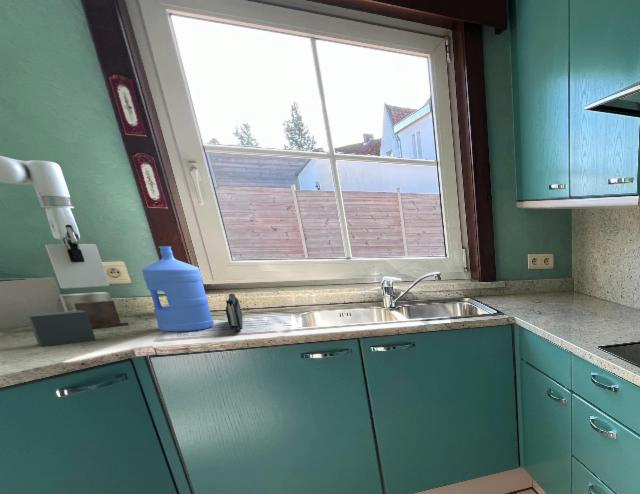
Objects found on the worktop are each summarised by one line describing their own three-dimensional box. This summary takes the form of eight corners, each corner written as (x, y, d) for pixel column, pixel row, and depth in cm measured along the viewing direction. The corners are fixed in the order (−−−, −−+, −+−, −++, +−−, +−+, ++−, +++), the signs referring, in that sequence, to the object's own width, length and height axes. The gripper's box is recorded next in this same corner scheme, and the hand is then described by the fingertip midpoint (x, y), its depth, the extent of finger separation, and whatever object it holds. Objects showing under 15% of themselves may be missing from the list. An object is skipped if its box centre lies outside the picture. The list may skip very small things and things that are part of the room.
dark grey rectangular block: (42, 346, 148) (30, 316, 144) (38, 344, 150) (26, 314, 146) (96, 340, 157) (86, 311, 154) (91, 338, 159) (81, 310, 156)
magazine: (227, 296, 191) (218, 280, 166) (237, 295, 193) (230, 280, 168) (237, 340, 194) (230, 331, 168) (247, 339, 195) (241, 330, 170)
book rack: (75, 330, 168) (63, 298, 164) (65, 326, 174) (54, 294, 170) (128, 325, 179) (118, 294, 175) (117, 321, 185) (107, 291, 181)
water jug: (215, 322, 188) (195, 245, 177) (213, 330, 176) (191, 247, 165) (162, 325, 180) (138, 245, 169) (156, 333, 167) (129, 247, 157)
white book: (62, 288, 165) (46, 244, 160) (60, 288, 166) (44, 244, 161) (109, 285, 174) (96, 244, 169) (107, 285, 175) (94, 244, 170)
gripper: (33, 202, 161) (54, 260, 168) (46, 202, 153) (68, 263, 160) (65, 203, 167) (84, 259, 174) (79, 203, 159) (99, 262, 166)
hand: (76, 261), depth 167 cm, fingers closed on white book, 2 cm apart
